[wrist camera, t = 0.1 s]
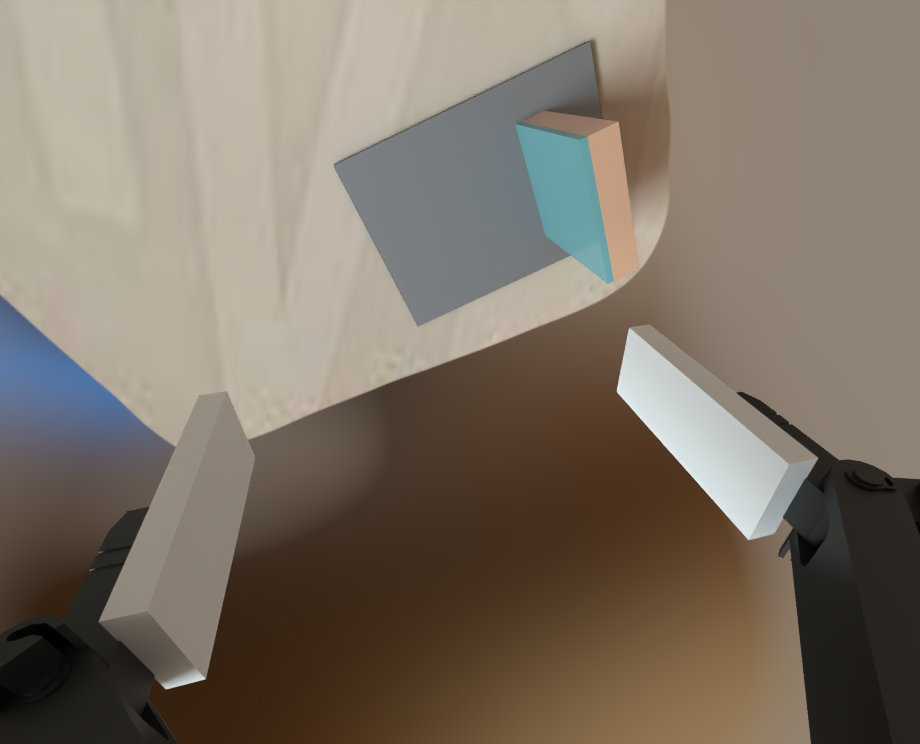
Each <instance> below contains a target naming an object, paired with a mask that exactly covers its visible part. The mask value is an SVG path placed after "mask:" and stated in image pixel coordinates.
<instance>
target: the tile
mask: <svg viewBox="0 0 920 744" xmlns="http://www.w3.org/2000/svg"><path fill="white" fill-rule="evenodd" d="M515 125H516V129H517V132H518V136H519V140H520V143H521V147H522V151H523V155H524V158H525V162H526V166H527V169H528V173H529V177H530V180H531V184H532V188H533V191H534V195H535V199H536V203H537V206H538V210H539V214H540V217H541V221H542V225H543V228H544V232H545V236H546V237H548V238H549V239H550V240H551V241H553V242H554V243H555V244H557V245H558V246H559V247H561V248H562V249H563V250H565V251H566V252H567V253H568V254H570V255H571V256H572V257H574V258H575V259H576V260H578V261H579V262H580V263H582V264H583V265H584V266H585V267H587V268H588V269H589V270H591V271H592V272H593V273H595V274H596V275H597V276H599V277H600V278H601V279H602V280H604V281H605V282H606V283H610V282H612V281H614V280H616V279H618V278H620V277H622V276H625V275H627V274H629V273H631V272H633V271H635V270H638V269H639V262H638V255H637V248H636V241H635V234H634V227H633V220H632V213H631V206H630V198H629V191H628V184H627V177H626V170H625V163H624V156H623V149H622V142H621V135H620V128H619V122H618V121H611V120H604V119H597V118H590V117H584V116H577V115H570V114H563V113H556V112H549V111H542V112H540V113H537V114H535V115H533V116H531V117H529V118H527V119H525V120H523V121H521V122H519V123H517V124H515Z"/></svg>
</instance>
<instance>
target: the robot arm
mask: <svg viewBox="0 0 920 744" xmlns="http://www.w3.org/2000/svg"><path fill="white" fill-rule="evenodd" d="M617 393H618V394H619V395H620V396H621V397H622V398H623V399H624V400H625V401H626V403H627V404H628V405H629V406H630V407H631V408H632V409H633V410H634V412H635V413H636V414H637V415H638V416H639V417H640V418H641V419H642V421H643V422H644V423H645V424H646V425H647V426H648V427H649V428H650V430H651V431H652V432H653V433H654V434H655V435H656V436H657V437H658V439H659V440H660V441H661V442H662V443H663V444H664V445H665V446H666V447H667V449H668V450H669V451H670V452H671V453H672V454H673V455H674V457H675V458H676V459H677V460H678V461H679V462H680V463H681V464H682V465H683V467H684V468H685V469H686V470H687V471H688V472H689V473H690V475H691V476H692V477H693V478H694V479H695V480H696V481H697V482H698V484H699V485H700V486H701V487H702V488H703V489H704V490H705V491H706V493H707V494H708V495H709V496H710V497H711V498H712V499H713V500H714V502H715V503H716V504H717V505H718V506H719V507H720V508H721V509H722V511H723V512H724V513H725V514H726V515H727V516H728V517H729V518H730V520H731V521H732V522H733V523H734V524H735V525H736V526H737V527H738V529H739V530H740V531H741V532H742V533H743V534H744V535H745V536H746V538H747V539H748V540H751V539H755V538H759V537H763V536H766V535H771V534H774V533H775V531H776V530H777V528H778V526H779V525H780V523H781V521H782V519H783V518H784V519H785V520H786V521H787V522H788V523H789V524H790V525H791V526H792V527H793V529H792V531H791V532H790V534H789V535H788V537H787V539H786V540H785V542H784V544H783V545H782V547H781V548H780V550H779V555H778V556H779V557H782V558H783V557H784V556H785V554H786V553H787V551H788V550H790V551H791V561H792V569H793V578H794V588H795V598H796V607H797V616H798V625H799V635H800V645H801V653H802V663H803V673H804V682H805V691H806V701H807V710H808V719H809V729H810V738H811V744H920V479H906V478H892V477H891V476H890V475H889V474H887V473H886V472H884V471H882V470H880V469H878V468H877V467H875V466H872V465H869V464H867V463H864V462H861V461H854V460H838V459H837V458H835V457H834V456H833V455H831V454H830V453H829V452H828V451H826V450H825V449H824V448H822V447H821V446H820V445H818V444H817V443H816V442H814V441H813V440H812V439H810V438H809V437H807V435H805V434H804V433H802V432H801V431H800V430H799V429H797V428H796V427H795V426H793V425H792V424H791V425H789V422H788V421H787V420H785V419H784V418H783V417H782V416H780V415H777V414H776V412H775V411H774V410H772V409H771V408H770V407H768V406H767V405H766V404H764V403H763V402H762V401H760V400H758V399H756V398H754V397H752V396H749V395H747V394H745V393H743V392H738V393H735V392H734V391H733V390H732V389H730V388H729V387H728V386H727V385H725V384H724V383H723V382H722V381H720V380H719V379H718V378H716V377H715V376H714V375H713V374H711V373H710V372H709V371H708V370H706V369H705V368H704V367H703V366H701V365H700V364H699V363H697V362H696V361H695V360H694V359H692V358H691V357H689V355H687V354H686V353H685V352H683V351H682V350H681V349H680V348H678V347H677V346H676V345H675V344H673V343H672V342H671V341H670V340H668V339H667V338H666V337H665V336H663V335H662V334H661V333H659V332H658V331H657V330H656V329H654V328H653V327H652V326H650V325H644V326H637V327H631V328H629V332H628V337H627V342H626V347H625V352H624V357H623V362H622V367H621V372H620V377H619V382H618V388H617ZM254 460H255V456H254V454H253V452H252V449H251V447H250V445H249V442H248V440H247V438H246V435H245V433H244V430H243V428H242V426H241V423H240V421H239V419H238V416H237V414H236V412H235V409H234V407H233V405H232V402H231V400H230V398H229V395H228V393H227V391H225V392H219V393H212V394H206V395H200V396H199V397H198V399H197V402H196V404H195V406H194V408H193V411H192V413H191V415H190V417H189V420H188V422H187V424H186V426H185V429H184V431H183V433H182V435H181V438H180V440H179V442H178V444H177V447H176V449H175V451H174V453H173V456H172V458H171V460H170V462H169V465H168V467H167V469H166V471H165V474H164V476H163V478H162V481H161V483H160V485H159V487H158V490H157V492H156V494H155V496H154V498H153V501H152V503H151V505H150V507H147V508H141V509H136V510H132V511H127V513H126V514H125V515H124V516H123V517H122V518H121V519H120V520H119V521H118V522H117V523H116V524H115V525H114V526H113V527H112V528H111V530H110V531H109V532H108V534H107V536H106V538H105V540H104V542H103V544H102V546H101V548H100V550H99V555H98V556H96V558H95V559H94V561H93V563H92V565H91V568H90V569H89V570H90V573H89V574H87V575H86V577H85V579H84V581H83V583H82V585H81V587H80V589H79V591H78V593H77V595H76V597H75V599H74V601H73V603H72V604H71V606H70V608H69V611H68V612H67V614H66V616H65V618H64V620H63V622H62V621H61V620H59V619H58V618H57V617H55V616H39V617H36V618H33V619H29V620H26V621H23V622H22V623H19V624H18V625H16V626H14V627H12V628H11V629H9V630H7V631H5V632H3V633H2V634H1V635H0V744H177V742H176V740H175V739H174V737H173V736H172V734H171V732H170V731H169V729H168V728H167V726H166V725H165V723H164V721H163V720H162V718H161V716H160V715H159V713H158V712H157V710H156V708H155V707H154V705H153V704H152V703H151V702H150V701H149V700H148V696H149V692H150V689H151V686H152V683H153V680H154V678H155V679H156V680H157V681H158V682H159V683H160V684H161V685H162V686H163V687H164V688H166V689H169V688H173V687H177V686H181V685H185V684H188V683H192V682H196V681H200V680H204V679H206V675H207V670H208V666H209V661H210V657H211V652H212V648H213V644H214V639H215V635H216V630H217V626H218V621H219V617H220V613H221V608H222V604H223V599H224V595H225V590H226V585H227V581H228V577H229V572H230V567H231V563H232V559H233V554H234V550H235V545H236V541H237V536H238V532H239V527H240V523H241V519H242V514H243V510H244V505H245V501H246V496H247V491H248V487H249V483H250V478H251V474H252V469H253V464H254Z"/></svg>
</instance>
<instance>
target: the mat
mask: <svg viewBox="0 0 920 744" xmlns="http://www.w3.org/2000/svg"><path fill="white" fill-rule="evenodd" d="M542 111H549V112H556V113H563V114H570V115H577V116H584V117H590V118H597V119H602V112H601V106H600V100H599V94H598V88H597V81H596V75H595V69H594V63H593V56H592V50H591V44H590V41H589V42H585V43H583V44H581V45H579V46H577V47H575V48H573V49H571V50H569V51H567V52H565V53H563V54H561V55H559V56H557V57H555V58H552V59H550V60H548V61H546V62H544V63H542V64H540V65H538V66H536V67H534V68H532V69H530V70H528V71H526V72H524V73H522V74H519V75H517V76H515V77H513V78H511V79H509V80H507V81H505V82H503V83H501V84H499V85H497V86H495V87H493V88H491V89H489V90H486V91H484V92H482V93H480V94H478V95H476V96H474V97H472V98H470V99H468V100H466V101H464V102H462V103H460V104H458V105H456V106H453V107H451V108H449V109H447V110H445V111H443V112H441V113H439V114H437V115H435V116H433V117H431V118H429V119H427V120H425V121H423V122H420V123H418V124H416V125H414V126H412V127H410V128H408V129H406V130H404V131H402V132H400V133H398V134H396V135H394V136H392V137H390V138H387V139H385V140H383V141H381V142H379V143H377V144H375V145H373V146H371V147H369V148H367V149H365V150H363V151H361V152H359V153H357V154H354V155H352V156H350V157H348V158H346V159H344V160H342V161H340V162H338V163H336V164H334V168H335V170H336V172H337V173H338V175H339V177H340V179H341V181H342V183H343V185H344V187H345V189H346V191H347V192H348V194H349V196H350V198H351V200H352V202H353V204H354V206H355V208H356V210H357V212H358V213H359V215H360V217H361V219H362V221H363V223H364V225H365V227H366V229H367V231H368V232H369V234H370V236H371V238H372V240H373V242H374V244H375V246H376V248H377V250H378V252H379V253H380V255H381V257H382V259H383V261H384V263H385V265H386V267H387V269H388V271H389V272H390V274H391V276H392V278H393V280H394V282H395V284H396V286H397V288H398V290H399V292H400V293H401V295H402V297H403V299H404V301H405V303H406V305H407V307H408V309H409V311H410V312H411V314H412V316H413V318H414V320H415V322H416V324H417V326H420V325H422V324H424V323H427V322H429V321H431V320H433V319H435V318H437V317H439V316H442V315H444V314H446V313H448V312H450V311H452V310H454V309H457V308H459V307H461V306H463V305H465V304H467V303H469V302H472V301H474V300H476V299H478V298H480V297H482V296H484V295H487V294H489V293H491V292H493V291H495V290H497V289H500V288H502V287H504V286H506V285H508V284H510V283H512V282H515V281H517V280H519V279H521V278H523V277H525V276H527V275H530V274H532V273H534V272H536V271H538V270H540V269H542V268H545V267H547V266H549V265H551V264H553V263H555V262H557V261H560V260H562V259H564V258H566V257H568V256H570V254H568V253H567V252H566V251H565V250H563V249H562V248H561V247H559V246H558V245H557V244H555V243H554V242H553V241H551V240H550V239H549V238H548V237H546V236H545V232H544V228H543V225H542V221H541V217H540V214H539V210H538V206H537V203H536V199H535V195H534V191H533V188H532V184H531V180H530V177H529V173H528V169H527V166H526V162H525V158H524V155H523V151H522V147H521V143H520V140H519V136H518V132H517V129H516V125H515V124H517V123H519V122H521V121H523V120H525V119H527V118H529V117H531V116H533V115H535V114H537V113H540V112H542Z"/></svg>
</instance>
